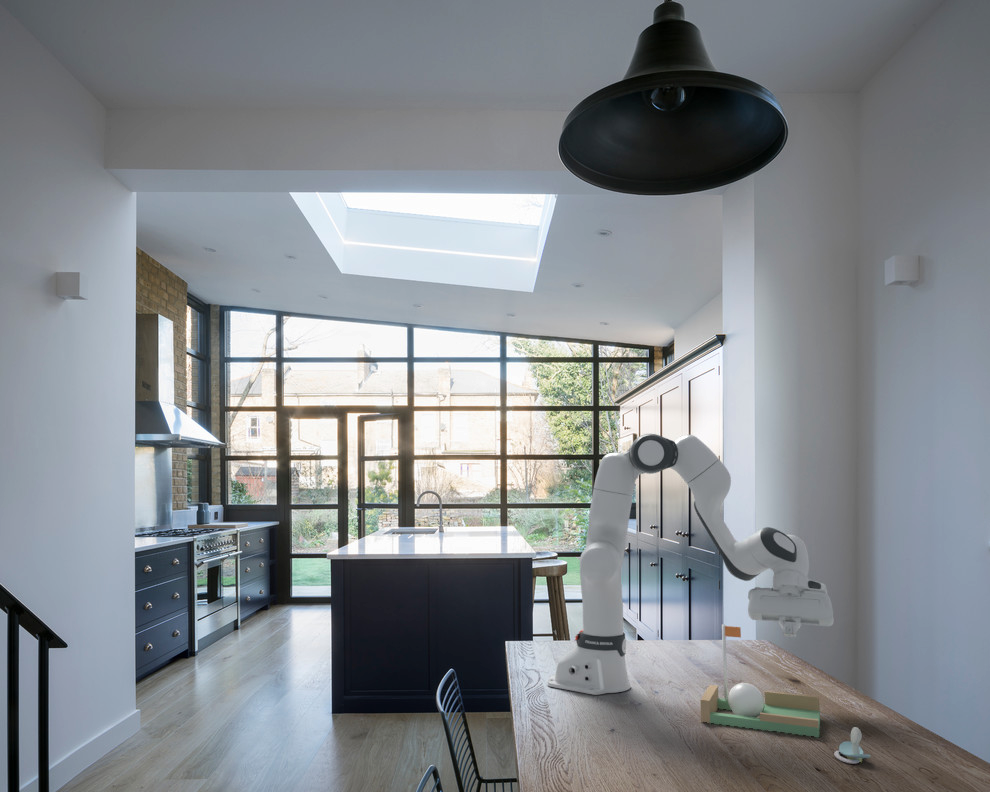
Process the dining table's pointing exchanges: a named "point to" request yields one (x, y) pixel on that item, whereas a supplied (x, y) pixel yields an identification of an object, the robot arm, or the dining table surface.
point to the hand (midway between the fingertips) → (789, 635)
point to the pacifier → (852, 749)
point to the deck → (778, 708)
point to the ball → (746, 700)
